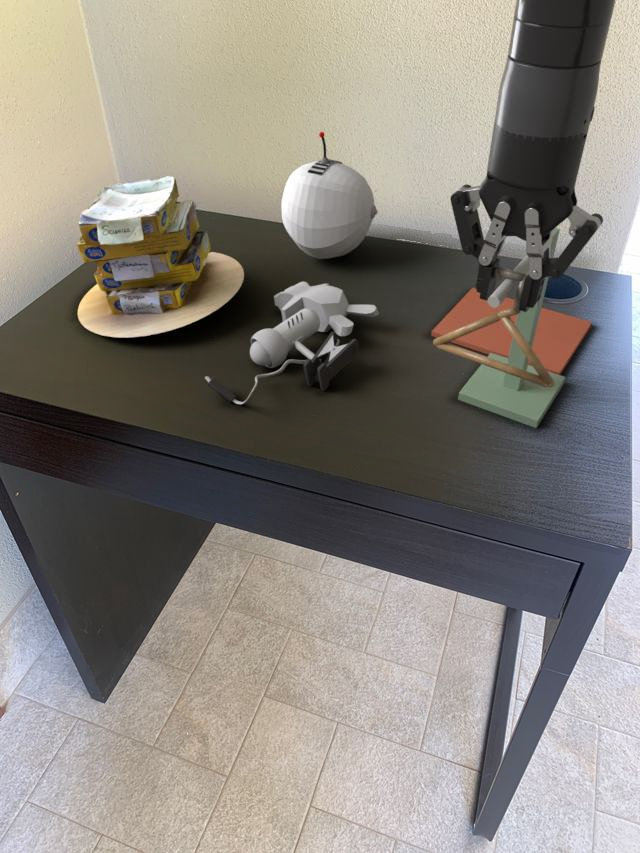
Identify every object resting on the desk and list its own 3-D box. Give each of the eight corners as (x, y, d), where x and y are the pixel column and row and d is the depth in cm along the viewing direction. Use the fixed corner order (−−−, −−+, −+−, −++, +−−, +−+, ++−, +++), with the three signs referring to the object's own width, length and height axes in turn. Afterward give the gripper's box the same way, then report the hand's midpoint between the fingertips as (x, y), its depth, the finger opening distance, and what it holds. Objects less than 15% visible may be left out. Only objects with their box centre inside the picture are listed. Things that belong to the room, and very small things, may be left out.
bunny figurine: (303, 268, 101) (384, 290, 93) (307, 299, 105) (385, 324, 96) (258, 293, 96) (339, 319, 88) (263, 325, 99) (342, 354, 91)
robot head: (392, 247, 115) (400, 123, 102) (352, 285, 106) (355, 153, 92) (308, 226, 121) (306, 107, 108) (264, 260, 112) (255, 134, 99)
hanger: (554, 386, 70) (584, 289, 62) (551, 391, 69) (581, 294, 62) (434, 343, 75) (449, 249, 68) (431, 347, 75) (445, 253, 67)
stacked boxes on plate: (45, 335, 96) (8, 222, 85) (126, 254, 114) (104, 152, 103) (209, 359, 91) (193, 243, 80) (266, 271, 109) (260, 166, 98)
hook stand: (563, 384, 86) (609, 223, 72) (507, 474, 74) (549, 303, 60) (489, 359, 90) (518, 202, 76) (424, 441, 79) (445, 273, 64)
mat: (590, 326, 96) (592, 322, 96) (558, 377, 87) (559, 372, 87) (471, 292, 104) (472, 287, 103) (431, 335, 95) (431, 331, 94)
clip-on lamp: (256, 444, 83) (365, 363, 88) (245, 412, 78) (362, 328, 83) (202, 391, 89) (308, 318, 94) (189, 359, 84) (301, 284, 89)
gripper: (443, 116, 56) (424, 299, 68) (617, 147, 50) (564, 342, 62) (479, 93, 61) (455, 268, 72) (643, 119, 55) (589, 305, 67)
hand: (506, 301), depth 67 cm, fingers closed on hanger, 3 cm apart
